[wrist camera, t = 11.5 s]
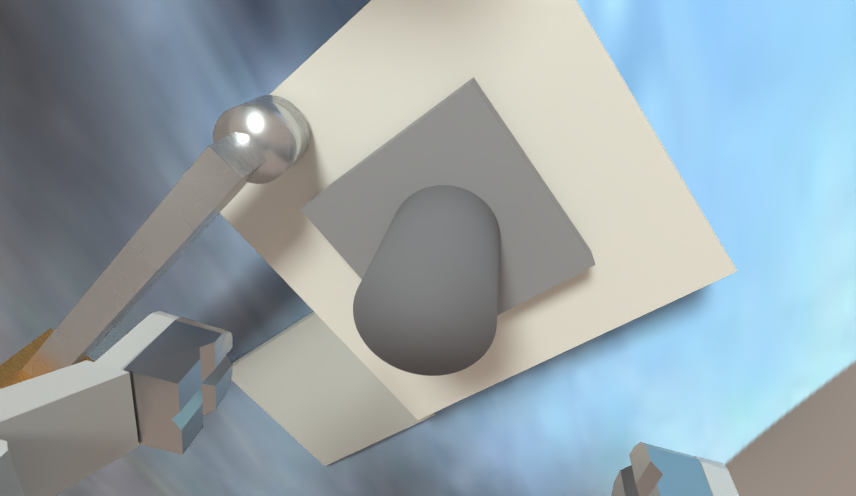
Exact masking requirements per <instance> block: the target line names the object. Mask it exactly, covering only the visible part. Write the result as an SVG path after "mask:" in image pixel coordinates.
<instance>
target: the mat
mask: <svg viewBox="0 0 856 496" xmlns="http://www.w3.org/2000/svg"><path fill="white" fill-rule="evenodd" d="M232 364H233V370H232V378H231V380H232V381H233V382H234V383H235V384H237V385H238V386H239V387H240V388H241V389H242V390H243V391H244V392H245V393H246V394H247V395H248V396H249V397H251V398H252V399H253V400H254V401H255V402H256V403H257V404H258V405H259V406H260V407H261V408H262V409H264V410H265V411H266V412H267V413H268V414H269V415H270V416H271V417H272V418H273V419H274V420H275V421H276V422H278V423H279V424H280V425H281V426H282V427H283V428H284V429H285V430H286V431H287V432H288V433H289V434H291V435H292V436H293V437H294V438H295V439H296V440H297V441H298V442H299V443H300V444H301V445H302V446H303V447H305V448H306V449H307V450H308V451H309V452H310V453H311V454H312V455H313V456H314V457H315V458H316V459H318V460H319V461H320V462H321V463H322V464H323V465H324V466H326V465H328V464H331V463H333V462H335V461H337V460H339V459H341V458H344V457H346V456H348V455H350V454H352V453H354V452H357V451H359V450H361V449H363V448H365V447H367V446H370V445H372V444H374V443H376V442H378V441H380V440H383V439H385V438H387V437H389V436H391V435H393V434H395V433H398V432H400V431H402V430H404V429H406V428H408V427H411V426H413V425H415V424H417V423H419V422H421V421H424V420H426V419H428V418H430V417H432V416H434V415H435V412H434V413H432V414H430V415H428V416H426V417H424V418H421V419H419V420H417V419H416V418H415V417H414V416H413V415H412V414H411V413H410V412H409V410H408V409H407V408H406V407H405V406H404V405H403V404H402V403H401V402H400V401H399V400H398V399H397V398H396V397H395V396H394V395H393V394H392V393H391V392H390V391H389V390H388V388H387V387H386V386H385V385H384V384H383V383H382V382H381V381H380V380H379V379H378V378H377V377H376V376H375V375H374V374H373V373H372V372H371V371H370V370H369V369H368V367H367V366H366V365H365V364H364V363H363V362H362V361H361V360H360V359H359V358H358V357H357V356H356V355H355V354H354V353H353V352H352V351H351V350H350V349H349V348H348V347H347V345H346V344H345V343H344V342H343V341H342V340H341V339H340V338H339V337H338V336H337V335H336V334H335V333H334V332H333V331H332V330H331V329H330V328H329V327H328V326H327V325H326V323H325V322H324V321H323V320H322V319H321V318H320V317H319V316H318V315H317V314H316V313H315V312H314V311H313V312H311V313H310V314H308V315H307V316H305V317H303V318H302V319H300V320H299V321H297V322H296V323H294V324H293V325H291V326H289V327H288V328H286V329H285V330H283V331H282V332H280V333H278V334H277V335H275V336H274V337H272V338H271V339H269V340H268V341H266V342H264V343H263V344H261V345H260V346H258V347H257V348H255V349H254V350H252V351H250V352H249V353H247V354H246V355H244V356H243V357H241V358H240V359H238V360H236V361H235V362H233V363H232Z"/></svg>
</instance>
